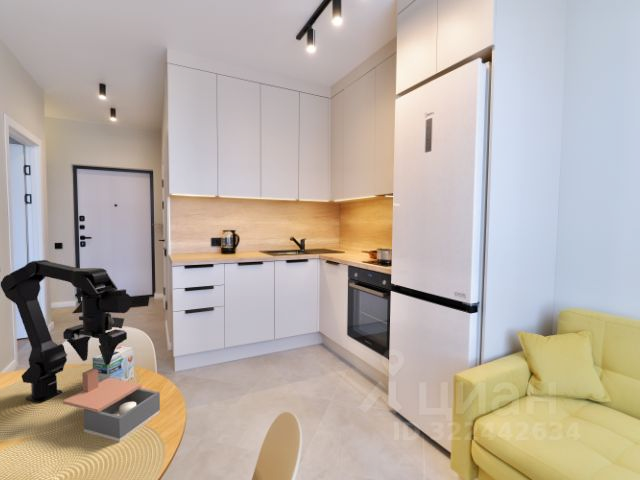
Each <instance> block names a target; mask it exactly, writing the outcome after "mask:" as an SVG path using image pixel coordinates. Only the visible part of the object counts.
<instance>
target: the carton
mask: <svg viewBox="0 0 640 480" xmlns="http://www.w3.org/2000/svg"><path fill="white" fill-rule="evenodd" d="M160 394H161V392H159V391H155V390H150V389H146V388H142V387H141V388H139V389H137V390H136V391H134V392H132V393H131V394H129V395H127V396H125V397H124V398H122V399H120V400H119V401H117V402H115V403H114V404H112V405H110V406H109V407H107V408H105V409H103V410H102V411H100V412H98V413H97V412H93V411H89V410H86V409H83V432H84V433H87V434H91V435H95V436H98V437H101V438H105V439H109V440H111V441H115V442H118V443H119V442H120V443H121V442H122V441H123V440H124V439H126V438H127V437H129V436H130V435H131V434H133V433H134V432H136V431H137V430H139V429H140V428H141V427H142V426H144V425H145V424H146V423H148V422H149V421H150V420H152V419H153V418H155V417H156V416H157V415H158V414H160V412H161V399H160V398H161V395H160Z"/></svg>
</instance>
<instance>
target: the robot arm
mask: <svg viewBox="0 0 640 480" xmlns="http://www.w3.org/2000/svg"><path fill="white" fill-rule="evenodd" d="M46 278H50V279H55V280H58V281H63V282H67V283H71V285H72V286H73V287H74V288H77V289H78V290H79V291H78V292H76V294H75V295H74V296H75V298H81V307H82V311H81V313H82V315H80V316H78V320H79V321H82V324H78V325H74V326H71V327H67V328H66V329H65V330H64V331H63V333H62V334H63V336H62V338H63V340H66V342H67V343H69V345H70V346H71V347H72V348H73V350H74V351H75V352H76V354H77V355H78V356H79V358H80V359H81V360H82V362H85V361H87V360H88V356H89V355H88V354H89V342H90V340H91V338H92V339H93V338H94V339H98V343H99V344H100V345H98V349H99V351H100V354H102V357H103V360H104V363H105V365H109V364H110V362H111V359H112V356H113V353H114V351H115V349H116V347H117V346H119V344H121V343H124V341H126V340H127V339H128V333H127V331H125V330H124V329H123V325H124V321H125V318H123V317H116V316H115V317H114V316H112V313H113V314H125V313H128V312H129V311H130V310H131V307H132V305H133V299H132V297H131V295H130V294H128V293H127V289H125V288H124V289H118V286H117V285H116V284H115V282H114V281H113V279H111V277H110V276H109V274H108V272H107V270H106V269H105V268H101V267H88V268H87V267H86V268H85V267H84V268H79V267H77V266H76V267H75V266H70V265H65V264H61V263H57V262H53V261H49V260H46V259H41V260H32V261H30V262H27V264H25V265H24V266H23V267H20V268H18V269H16V270H13V271H12V272H11V273H10V274H7V275H4V277H3V278H2V280H1V281H0V287H1V290H2V292H3V294H4V296H5V297H6V298H7V299H8V300H10V301H11V302H13V303H14V304H15V305H16V307H17V311H18V312H19V316H20V318H21V322H22V324H23V326H24V330H25V332H26V335H27V338H28V341H29V344H30V347H31V350H30V354H29V357H28V365H29V367H28V368H27V369H26V371H25V372H24V373H22V375H21V380H22V381H23V383H26V384H30V386H31V387H30V388H31V394H30V395H28V396H26V397H25V400H28V401H32V402H35V403H38V404H39V403H43V402H45V401H47V400H49V399H52V398H53V397H56V396H57V395H60V394H62V393H63V390H61V389H58V381H57V379H58V378H57V374H59V373H61V372H63V371H64V369H65V368H64V367H65V365H66V362H67V361H68V357H67V356H68V354H67V353H66V350H65V346H64V344H63V343H60V344H57V343H56V342H54V341H53V339H52V335H51V332H50V329H49V327H48V325H47V321H46V319H45V315H44V313H43V310H42V307H41V305H40V302H39V299H38V296H39V294H40V293H41V292H40V291H41V282H42V281H43V280H45V279H46ZM113 328H114V329H113ZM115 328H118V329H115ZM112 329H113V330H112Z"/></svg>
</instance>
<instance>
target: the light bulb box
mask: <svg viewBox="0 0 640 480" xmlns="http://www.w3.org/2000/svg"><path fill="white" fill-rule="evenodd" d="M134 355H135V353H134V347H130V346H122V345H117V347H116V349H115V351H114V353H113V356H112V359H111V362H110V364H109V365H105V363H104V360H103V357H102V354H101V353H100V354H98V355H95V356H93V357H92V358H91V359H92V369H98V383H99V382H101V381H103V380H105V379H107V378H113V379H118V380H123V381H128V382H130V380H132V379H134V378H135V371H134V370H135V359H134V358H135V357H134ZM133 377H134V378H133ZM131 378H132V379H131Z"/></svg>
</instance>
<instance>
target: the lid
mask: <svg viewBox="0 0 640 480" xmlns="http://www.w3.org/2000/svg"><path fill="white" fill-rule="evenodd" d="M81 374H82V375H81V377H82V379H81V380H82V390H81V391H79V392H78V393H76V394H73V395H71V396H69V397H68V398H65V399H63V400H62V404H63V405H67V406H70V407H74V408H78V409H82V410H84V409H86V410H89V411H93V412H97V413H98V412H100V411H102V410H103V409H105V408H107V407H109V406H110V405H112V404H114V403H115V402H117V401H119V400H120V399H122V398H124V397H125V396H127V395H129V394H131V393H132V392H134V391H136V390H137V389H139V388H142V384H141V383H138V382H137V383H136V382H132V381H123V380H118V379H113V378H107V379H105V380H103V381H101V382H99V383H98V369H93V368H91V369H88V370H86V371H83V372H82V373H81Z"/></svg>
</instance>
